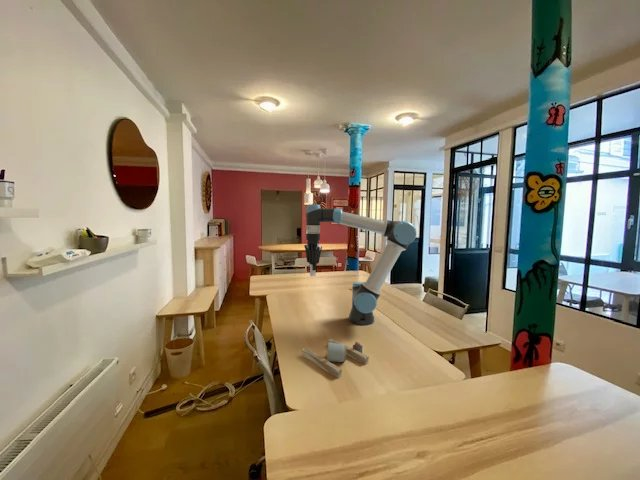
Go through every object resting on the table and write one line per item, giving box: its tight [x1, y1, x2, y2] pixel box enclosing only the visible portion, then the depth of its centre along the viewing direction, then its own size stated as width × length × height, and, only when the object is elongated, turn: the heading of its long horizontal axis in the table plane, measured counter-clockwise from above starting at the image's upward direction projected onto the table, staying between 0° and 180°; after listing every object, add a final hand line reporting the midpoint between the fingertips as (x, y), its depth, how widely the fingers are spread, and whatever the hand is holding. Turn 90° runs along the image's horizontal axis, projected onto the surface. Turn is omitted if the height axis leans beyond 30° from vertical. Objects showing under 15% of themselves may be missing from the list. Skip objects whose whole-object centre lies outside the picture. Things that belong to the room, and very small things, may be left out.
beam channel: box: [301, 338, 370, 379], centre depth 125 cm, size 22×23×5 cm
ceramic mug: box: [326, 342, 347, 363], centre depth 124 cm, size 11×8×8 cm
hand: (312, 275), depth 157 cm, fingers closed
